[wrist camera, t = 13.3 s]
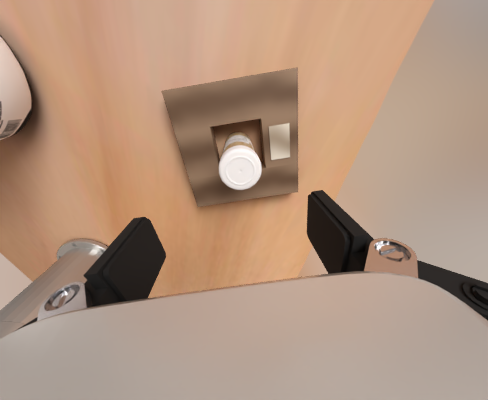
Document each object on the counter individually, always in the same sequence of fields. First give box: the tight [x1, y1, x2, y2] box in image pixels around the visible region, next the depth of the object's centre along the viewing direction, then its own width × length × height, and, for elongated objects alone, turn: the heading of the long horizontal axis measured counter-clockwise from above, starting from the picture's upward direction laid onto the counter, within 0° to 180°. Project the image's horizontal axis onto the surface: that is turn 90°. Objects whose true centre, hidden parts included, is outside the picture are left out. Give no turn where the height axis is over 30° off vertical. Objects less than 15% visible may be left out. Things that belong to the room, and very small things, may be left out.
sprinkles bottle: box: [219, 132, 262, 190], centre depth 24 cm, size 5×5×14 cm
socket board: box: [162, 68, 298, 207], centre depth 29 cm, size 18×18×3 cm
